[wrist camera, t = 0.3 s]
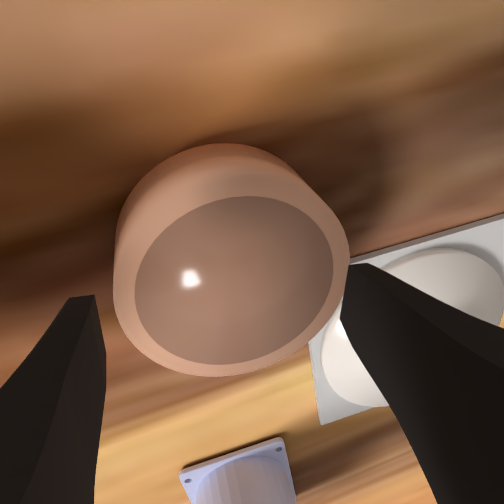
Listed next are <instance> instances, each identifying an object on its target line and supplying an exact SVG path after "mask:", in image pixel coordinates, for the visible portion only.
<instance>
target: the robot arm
mask: <svg viewBox="0 0 504 504" xmlns="http://www.w3.org/2000/svg"><path fill="white" fill-rule="evenodd" d="M339 319H340V321H341V323H342V326H343V328H344V330H345V333H346V335H347V337H348V339H349V341H350V343H351V346H352V347H353V349H354V351H355V352H356V354H357V356H358V357H359V359H360V360H361V362H362V364H363V365H364V367H365V368H366V370H367V372H368V373H369V375H370V376H371V378H372V379H373V381H374V382H375V384H376V386H377V387H378V389H379V390H380V392H381V393H382V395H383V397H384V398H385V400H386V401H387V403H388V404H389V406H390V407H391V409H392V411H393V413H394V414H395V416H396V418H397V419H398V421H399V423H400V425H401V427H402V429H403V431H404V433H405V435H406V437H407V439H408V441H409V443H410V445H411V447H412V449H413V451H414V453H415V455H416V457H417V459H418V461H419V464H420V466H421V468H422V470H423V472H424V474H425V476H426V479H427V481H428V483H429V485H430V487H431V490H432V492H433V494H434V496H435V499H436V501H437V503H438V504H504V329H503V328H501V327H498V326H496V325H493V324H491V323H488V322H486V321H483V320H481V319H479V318H476V317H474V316H472V315H469V314H467V313H465V312H463V311H461V310H459V309H457V308H454V307H452V306H450V305H448V304H446V303H444V302H442V301H440V300H438V299H436V298H434V297H432V296H430V295H428V294H426V293H425V292H423V291H421V290H419V289H417V288H415V287H413V286H412V285H410V284H408V283H406V282H404V281H402V280H401V279H399V278H397V277H395V276H393V275H391V274H389V273H388V272H386V271H384V270H382V269H380V268H378V267H376V266H374V265H371V264H369V263H360V264H351V265H348V271H347V277H346V283H345V289H344V295H343V301H342V307H341V312H340V318H339ZM105 393H106V350H105V345H104V340H103V335H102V330H101V325H100V320H99V315H98V310H97V305H96V300H95V295H89V296H80V297H72V298H69V299H68V300H67V301H66V302H65V304H64V305H63V307H62V309H61V310H60V312H59V313H58V315H57V316H56V318H55V319H54V321H53V322H52V323H51V325H50V326H49V328H48V329H47V331H46V332H45V333H44V335H43V336H42V337H41V339H40V340H39V341H38V343H37V344H36V346H35V347H34V348H33V350H32V351H31V352H30V354H29V355H28V356H27V357H26V359H25V360H24V361H23V362H22V363H21V365H20V366H19V367H18V368H17V369H16V371H15V372H14V373H13V374H12V375H11V377H10V378H9V379H8V380H7V381H6V383H5V384H4V385H3V386H2V387H1V388H0V504H94V485H95V473H96V464H97V456H98V448H99V440H100V433H101V425H102V417H103V409H104V401H105ZM179 479H180V481H181V483H182V485H183V487H184V489H185V491H186V493H187V495H188V497H189V499H190V501H191V503H192V504H296V502H297V499H296V495H295V490H294V485H293V481H292V476H291V472H290V467H289V462H288V458H287V453H286V449H285V444H284V441H283V439H282V438H281V437H276V438H273V439H270V440H267V441H264V442H261V443H258V444H255V445H253V446H250V447H247V448H244V449H241V450H238V451H235V452H232V453H229V454H226V455H223V456H220V457H217V458H214V459H211V460H208V461H205V462H202V463H200V464H197V465H194V466H191V467H188V468H185V469H183V470H181V471H180V472H179Z"/></svg>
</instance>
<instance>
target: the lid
mask: <svg viewBox="0 0 504 504" xmlns="http://www.w3.org/2000/svg"><path fill="white" fill-rule="evenodd" d="M380 269H382V270H384V271H386V272H388V273H389V274H391V275H393V276H395V277H397V278H399V279H401V280H402V281H404V282H406V283H408V284H410V285H412V286H413V287H415V288H417V289H419V290H421V291H423V292H425V293H426V294H428V295H430V296H432V297H434V298H436V299H438V300H440V301H442V302H444V303H446V304H448V305H450V306H452V307H454V308H457V309H459V310H461V311H463V312H465V313H467V314H469V315H472V316H474V317H476V318H479V319H481V320H483V321H486V322H488V323H491V324H493V325H496V326H499V323H500V321H501V318H502V315H503V311H504V286H503V283H502V281H501V278H500V276H499V275H498V273H497V272H496V271H495V269H494V268H493V267H491V266H490V265H489V264H488V263H487V262H485V261H484V260H483V259H481V258H480V257H478V256H477V255H475V254H473V253H471V252H468V251H465V250H462V249H457V248H431V249H425V250H421V251H417V252H413V253H410V254H407V255H405V256H402V257H399V258H397V259H395V260H393V261H391V262H389V263H387V264H385V265H384V266H382V267H380ZM342 301H343V300H342ZM342 301H341V303H340V304H339V305H338V307H337V309H336V310H335V312H334V314H333V315H332V317H331V318H330V319H329V321H328V323H327V326H326V328H325V330H324V333H323V337H322V340H321V346H320V362H321V366H322V370H323V372H324V374H325V376H326V378H327V380H328V382H329V384H330V386H331V387H332V388H333V390H334V391H335V392H336V393H337V394H338V395H339V396H340V397H342V398H344V399H345V400H347V401H349V402H352V403H354V404H358V405H362V406H369V407H384V406H389V404H388V403H387V401H386V400H385V398H384V397H383V395H382V393H381V392H380V390H379V389H378V387H377V386H376V384H375V382H374V381H373V379H372V378H371V376H370V375H369V373H368V372H367V370H366V368H365V367H364V365H363V364H362V362H361V360H360V359H359V357H358V356H357V354H356V352H355V351H354V349H353V347H352V346H351V343H350V341H349V339H348V337H347V335H346V333H345V330H344V328H343V326H342V323H341V321H340V319H339V318H340V312H341V307H342Z"/></svg>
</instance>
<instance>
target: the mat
mask: <svg viewBox="0 0 504 504" xmlns="http://www.w3.org/2000/svg"><path fill="white" fill-rule="evenodd" d="M431 248H457V249H462V250H465V251H468V252H471V253H473V254H475V255H477V256H478V257H480V258H481V259H483V260H484V261H485V262H487V263H488V264H489V265H490V266H491V267H493V268H494V269H495V271H496V272H497V273H498V275H499V276H500V278H501V281H502V283H503V286H504V213H503V214H500V215H496V216H493V217H490V218H486V219H483V220H479V221H476V222H473V223H469V224H466V225H462V226H459V227H456V228H452V229H449V230H445V231H442V232H439V233H435V234H432V235H428V236H425V237H422V238H418V239H415V240H411V241H408V242H405V243H401V244H398V245H394V246H391V247H388V248H384V249H381V250H377V251H374V252H371V253H367V254H364V255H360V256H357V257H354V258H350V265H351V264H360V263H369V264H371V265H374V266H376V267H378V268H380V267H382V266H384V265H385V264H387V263H389V262H391V261H393V260H395V259H397V258H399V257H402V256H405V255H407V254H410V253H413V252H417V251H421V250H425V249H431ZM342 300H343V297H342V299H341V301H342ZM341 301H340V303H341ZM340 303H339V304H340ZM327 323H328V322H327ZM327 323H326V325H325V326H324V327H323V328H322V329H321V330H320V331H319V332H318V334H317V335H316V336H315V337H313V338H312V339H311V340H310V341H309V342H308V344H309V351H310V359H311V366H312V374H313V381H314V389H315V396H316V404H317V411H318V418H319V422H320V424H321V426H322V425H325V424H327V423H330V422H333V421H336V420H339V419H342V418H345V417H348V416H351V415H354V414H357V413H360V412H363V411H366V410H369V409H372V408H374V407H369V406H362V405H358V404H354V403H352V402H349V401H347V400H345V399H344V398H342V397H340V396H339V395H338V394H337V393H336V392H335V391H334V390H333V388H332V387H331V386H330V384H329V382H328V380H327V378H326V376H325V374H324V372H323V370H322V366H321V362H320V346H321V340H322V337H323V333H324V330H325V328H326V326H327Z"/></svg>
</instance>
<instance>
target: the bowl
mask: <svg viewBox="0 0 504 504" xmlns="http://www.w3.org/2000/svg"><path fill="white" fill-rule="evenodd" d="M348 265H350V252H349V244H348V241H347V238H346V234H345V231H344V229H343V227H342V225H341V223H340V221H339V220H338V218H337V217H336V215H335V214H334V213H333V211H332V210H331V209H330V208H329V207H328V206H327V205H326V203H325V202H324V201H323V200H322V199H321V198H320V197H319V196H318V195H317V194H316V193H315V192H314V191H313V190H312V189H311V188H310V187H309V186H308V184H307V183H306V182H305V181H304V180H303V179H302V178H301V177H300V176H299V175H298V174H297V173H296V172H295V171H294V170H293V169H292V168H291V167H290V166H289V165H288V164H286V163H285V162H284V161H282V160H281V159H280V158H278V157H276V156H274V155H273V154H271V153H269V152H267V151H264V150H261V149H259V148H256V147H252V146H247V145H243V144H233V143H217V144H208V145H202V146H197V147H194V148H191V149H188V150H185V151H182V152H180V153H178V154H175V155H173V156H171V157H169V158H167V159H166V160H164V161H163V162H161V163H160V164H158V165H157V166H155V167H154V168H153V169H152V170H151V171H149V172H148V173H147V174H146V175H145V176H144V177H143V178H142V179H141V180H140V181H139V182H138V183H137V185H136V186H135V187H134V188H133V190H132V191H131V193H130V194H129V196H128V197H127V199H126V201H125V203H124V205H123V207H122V209H121V212H120V216H119V219H118V222H117V228H116V234H115V253H114V274H113V301H114V307H115V312H116V315H117V318H118V320H119V323H120V325H121V327H122V329H123V331H124V332H125V334H126V336H127V337H128V338H129V340H130V341H131V342H132V343H133V345H134V346H135V347H136V348H137V349H139V350H140V351H141V352H142V353H143V354H144V355H146V356H147V357H148V358H150V359H151V360H153V361H154V362H156V363H158V364H160V365H162V366H164V367H166V368H169V369H172V370H175V371H177V372H181V373H186V374H190V375H197V376H211V377H220V376H232V375H238V374H243V373H248V372H251V371H255V370H258V369H261V368H264V367H267V366H269V365H272V364H274V363H276V362H278V361H280V360H282V359H284V358H286V357H287V356H289V355H291V354H293V353H294V352H296V351H297V350H298V349H300V348H301V347H303V346H304V345H305V344H307V343H308V342H309V341H310V340H311V339H312V338H313V337H315V336H316V335H317V334H318V332H319V331H320V330H321V329H322V328H323V327H324V326H325V325H326V323H327V322H328V321H329V319H330V318H331V317H332V315H333V314H334V312H335V310H336V309H337V307H338V305H339V303H340V301H341V299H342V297H343V295H344V289H345V283H346V277H347V271H348Z"/></svg>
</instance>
